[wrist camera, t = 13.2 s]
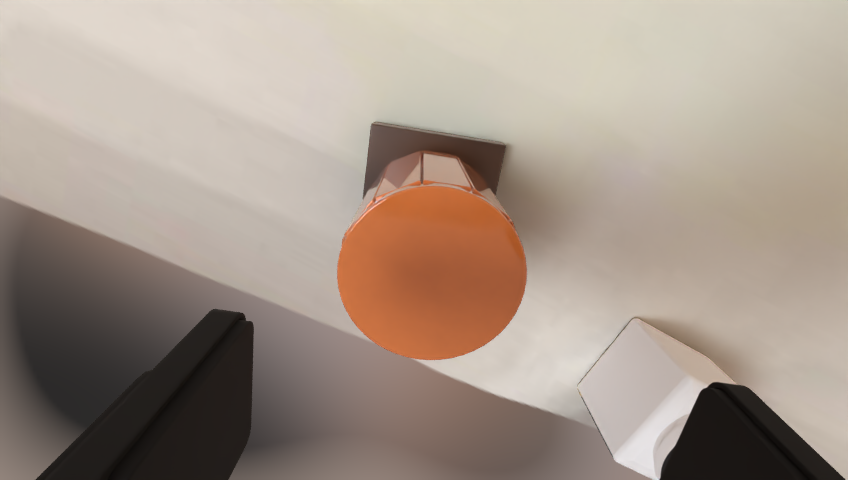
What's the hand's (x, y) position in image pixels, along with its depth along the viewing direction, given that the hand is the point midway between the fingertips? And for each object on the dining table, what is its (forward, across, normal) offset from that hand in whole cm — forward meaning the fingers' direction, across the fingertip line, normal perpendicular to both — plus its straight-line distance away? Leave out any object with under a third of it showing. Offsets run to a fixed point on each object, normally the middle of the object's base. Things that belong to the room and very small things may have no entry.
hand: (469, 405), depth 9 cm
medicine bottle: (+20, -17, +12) cm, 29 cm away
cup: (+15, +1, 0) cm, 15 cm away
